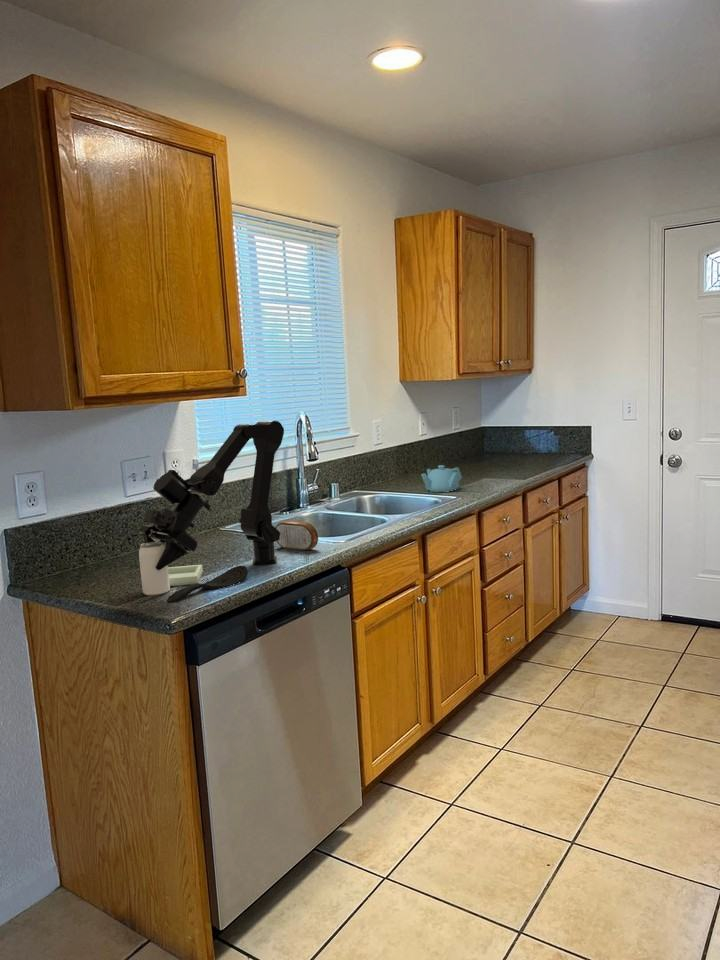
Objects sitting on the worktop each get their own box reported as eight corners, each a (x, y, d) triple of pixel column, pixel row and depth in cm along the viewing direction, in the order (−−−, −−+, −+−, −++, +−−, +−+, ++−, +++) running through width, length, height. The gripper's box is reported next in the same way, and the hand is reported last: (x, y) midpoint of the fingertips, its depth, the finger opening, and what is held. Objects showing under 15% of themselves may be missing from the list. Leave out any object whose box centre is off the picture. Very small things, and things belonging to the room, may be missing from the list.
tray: (157, 575, 198) (156, 568, 198) (202, 571, 199) (202, 564, 199) (149, 587, 186) (148, 580, 186) (197, 583, 188) (197, 576, 187)
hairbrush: (155, 590, 175) (231, 560, 194) (157, 605, 176) (233, 574, 195) (178, 595, 170) (254, 564, 190) (180, 610, 171) (256, 577, 190)
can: (161, 586, 187) (157, 540, 185) (175, 591, 182) (170, 543, 181) (138, 593, 182) (133, 545, 181) (151, 597, 178) (146, 548, 176)
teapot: (458, 493, 304) (457, 467, 302) (421, 494, 307) (420, 468, 306) (462, 487, 318) (461, 462, 317) (427, 488, 322) (426, 463, 320)
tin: (319, 550, 217) (317, 521, 216) (313, 552, 215) (311, 524, 213) (280, 546, 226) (278, 518, 225) (273, 548, 223) (271, 520, 222)
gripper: (142, 493, 188) (106, 544, 182) (182, 498, 175) (145, 553, 169) (172, 518, 195) (138, 568, 189) (213, 525, 182) (178, 579, 176)
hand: (148, 567), depth 180 cm, fingers open, 7 cm apart
